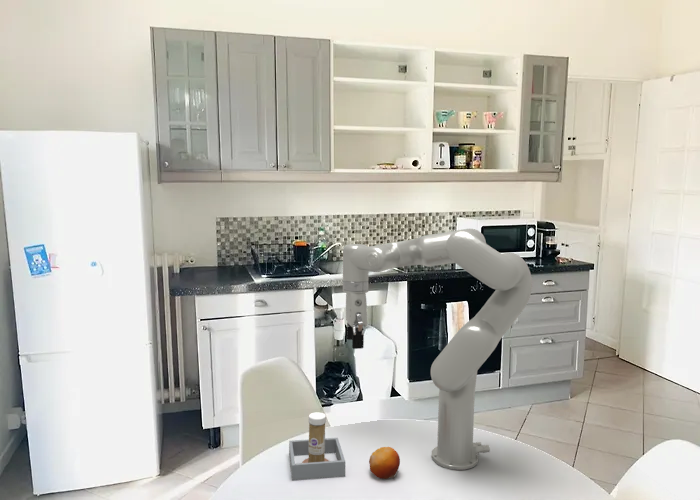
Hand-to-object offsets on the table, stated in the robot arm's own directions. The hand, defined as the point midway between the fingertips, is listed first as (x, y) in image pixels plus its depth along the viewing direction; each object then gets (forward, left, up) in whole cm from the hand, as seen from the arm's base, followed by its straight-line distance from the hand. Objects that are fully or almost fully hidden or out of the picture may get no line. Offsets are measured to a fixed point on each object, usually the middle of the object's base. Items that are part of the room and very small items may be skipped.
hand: (354, 343), depth 154 cm
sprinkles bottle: (+13, +16, -28) cm, 35 cm away
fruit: (-4, +23, -28) cm, 37 cm away
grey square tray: (+13, +16, -28) cm, 35 cm away
